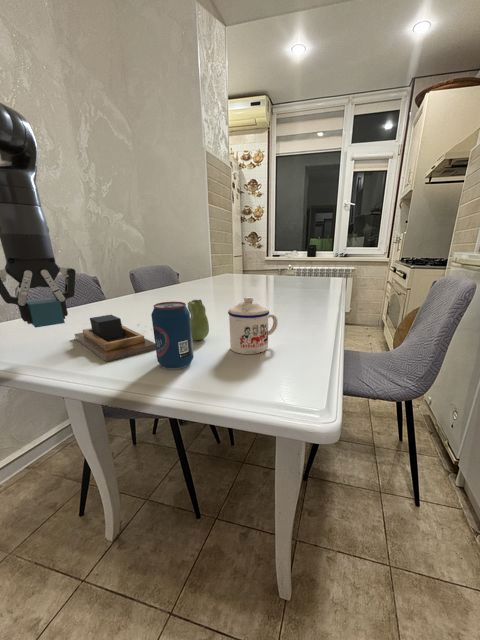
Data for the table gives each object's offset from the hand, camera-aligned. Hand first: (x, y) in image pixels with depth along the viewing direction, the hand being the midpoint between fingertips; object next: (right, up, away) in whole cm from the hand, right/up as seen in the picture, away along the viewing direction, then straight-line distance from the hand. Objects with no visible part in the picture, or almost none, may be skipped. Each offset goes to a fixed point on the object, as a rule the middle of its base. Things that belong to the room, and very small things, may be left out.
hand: (46, 320), depth 60 cm
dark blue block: (+7, -3, +11) cm, 13 cm away
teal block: (0, 0, 0) cm, 0 cm away
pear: (+29, -4, +13) cm, 32 cm away
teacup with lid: (+43, -6, +7) cm, 44 cm away
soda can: (+28, -9, -2) cm, 29 cm away
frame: (+9, -5, +10) cm, 14 cm away
